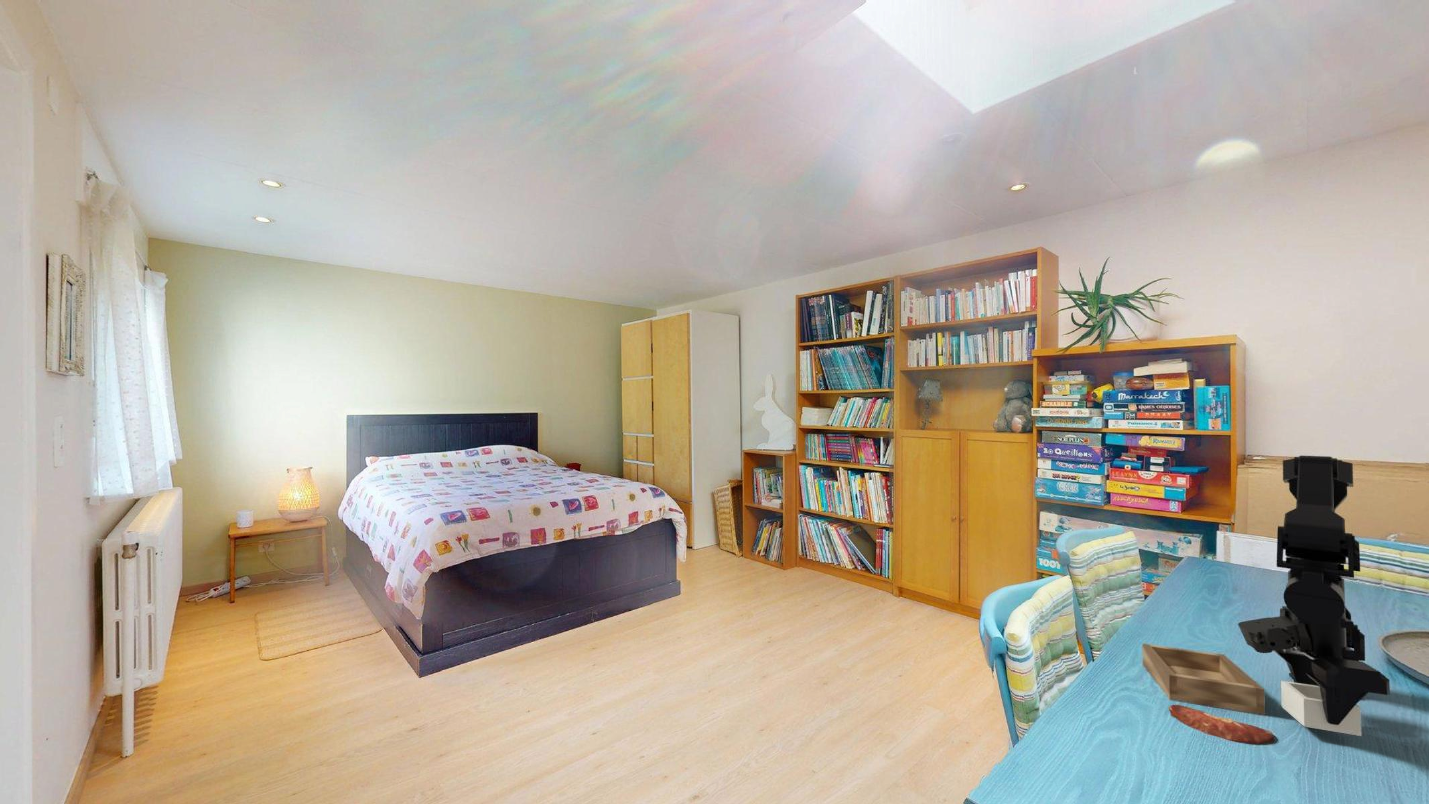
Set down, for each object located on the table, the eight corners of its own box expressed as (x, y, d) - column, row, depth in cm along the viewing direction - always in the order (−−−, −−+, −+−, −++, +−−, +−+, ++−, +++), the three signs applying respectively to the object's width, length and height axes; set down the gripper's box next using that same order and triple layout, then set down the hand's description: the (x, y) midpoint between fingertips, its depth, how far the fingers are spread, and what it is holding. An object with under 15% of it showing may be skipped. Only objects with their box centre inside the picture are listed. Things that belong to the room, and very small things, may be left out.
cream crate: (1334, 715, 83) (1333, 688, 83) (1361, 736, 78) (1360, 707, 78) (1281, 706, 86) (1281, 680, 86) (1304, 726, 80) (1303, 698, 80)
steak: (1172, 694, 90) (1277, 724, 82) (1172, 705, 90) (1277, 737, 81) (1163, 711, 85) (1274, 745, 76) (1163, 723, 85) (1274, 759, 76)
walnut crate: (1224, 677, 99) (1224, 654, 99) (1265, 715, 86) (1264, 689, 87) (1142, 665, 104) (1142, 643, 104) (1169, 699, 91) (1169, 674, 91)
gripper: (1219, 583, 94) (1221, 676, 94) (1278, 619, 77) (1281, 733, 76) (1307, 591, 90) (1309, 689, 89) (1390, 632, 72) (1394, 753, 72)
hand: (1319, 713), depth 82 cm, fingers closed on cream crate, 6 cm apart
